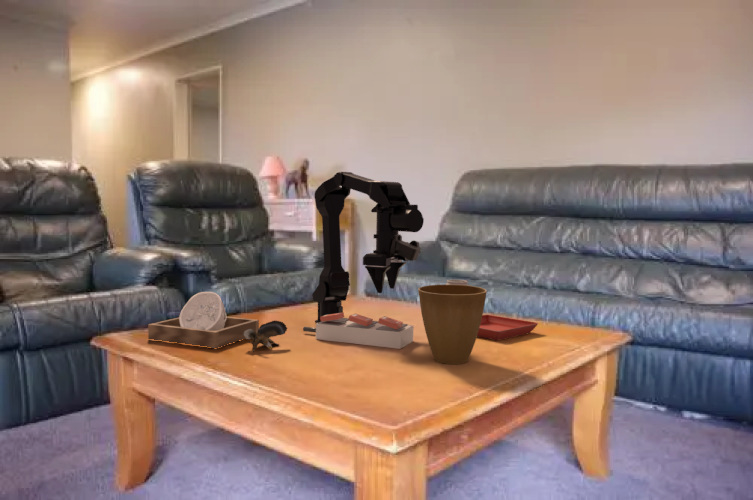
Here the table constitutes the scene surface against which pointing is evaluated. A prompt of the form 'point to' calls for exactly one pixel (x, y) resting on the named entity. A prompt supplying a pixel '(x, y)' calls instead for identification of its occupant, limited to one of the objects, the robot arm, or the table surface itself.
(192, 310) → the grey flat disc
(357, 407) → the table surface
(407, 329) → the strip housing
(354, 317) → the rocker
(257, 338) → the eagle figurine
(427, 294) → the plant pot
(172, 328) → the wooden tray
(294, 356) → the table surface
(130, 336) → the table surface
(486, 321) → the plant saucer
